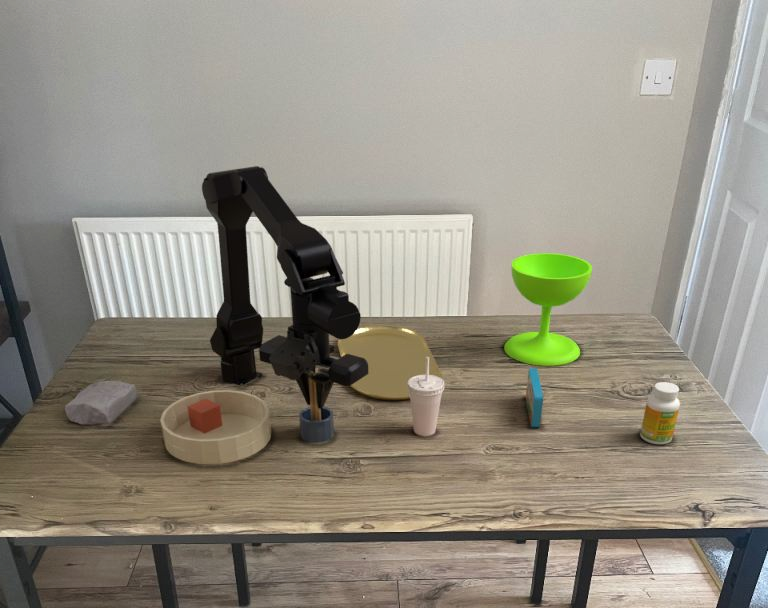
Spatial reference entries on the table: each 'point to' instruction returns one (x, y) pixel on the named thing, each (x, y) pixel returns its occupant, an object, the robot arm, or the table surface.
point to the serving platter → (388, 359)
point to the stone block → (101, 402)
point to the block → (205, 415)
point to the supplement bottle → (661, 414)
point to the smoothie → (425, 401)
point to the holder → (316, 426)
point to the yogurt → (534, 397)
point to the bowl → (226, 443)
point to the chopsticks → (313, 399)
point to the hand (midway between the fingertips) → (315, 405)
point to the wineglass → (547, 305)
